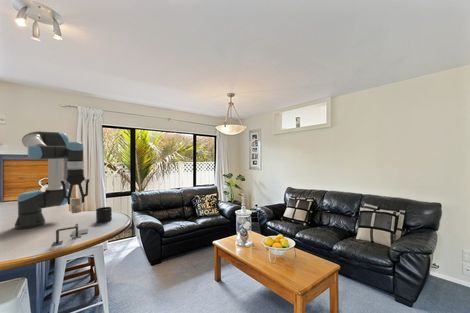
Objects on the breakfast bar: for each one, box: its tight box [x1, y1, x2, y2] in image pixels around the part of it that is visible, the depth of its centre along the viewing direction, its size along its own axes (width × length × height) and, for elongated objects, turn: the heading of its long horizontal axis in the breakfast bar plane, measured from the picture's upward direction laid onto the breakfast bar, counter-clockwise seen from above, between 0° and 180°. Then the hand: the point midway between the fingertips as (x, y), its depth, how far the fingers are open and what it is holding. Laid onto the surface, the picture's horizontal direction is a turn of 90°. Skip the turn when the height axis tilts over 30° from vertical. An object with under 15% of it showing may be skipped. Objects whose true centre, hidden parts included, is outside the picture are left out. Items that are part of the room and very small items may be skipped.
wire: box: [51, 223, 82, 247], centre depth 117 cm, size 10×12×8 cm
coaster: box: [70, 228, 89, 237], centre depth 129 cm, size 8×8×1 cm
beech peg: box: [70, 197, 82, 214], centre depth 122 cm, size 4×4×8 cm
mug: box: [95, 206, 113, 224], centre depth 151 cm, size 9×12×9 cm
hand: (76, 209), depth 122 cm, fingers closed on beech peg, 4 cm apart
